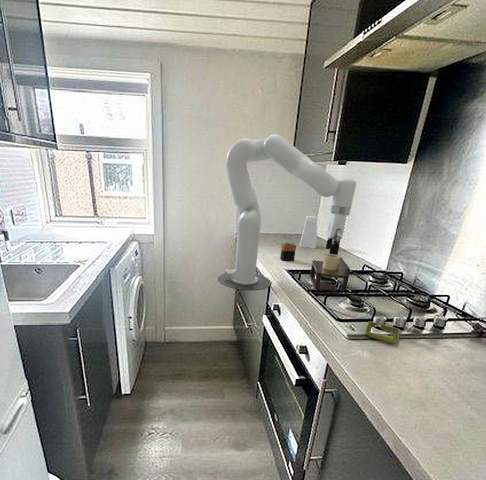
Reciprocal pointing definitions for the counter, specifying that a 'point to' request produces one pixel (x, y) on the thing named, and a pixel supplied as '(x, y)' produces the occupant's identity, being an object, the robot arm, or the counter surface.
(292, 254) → the battery
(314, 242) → the grater
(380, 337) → the green square frame
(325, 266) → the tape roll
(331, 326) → the counter surface
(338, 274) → the rack
